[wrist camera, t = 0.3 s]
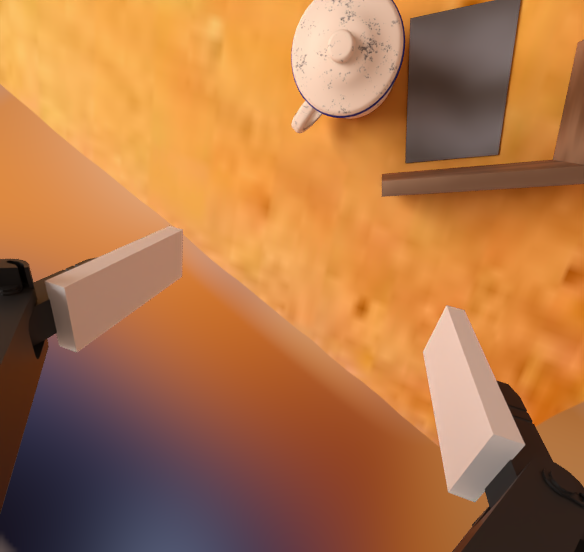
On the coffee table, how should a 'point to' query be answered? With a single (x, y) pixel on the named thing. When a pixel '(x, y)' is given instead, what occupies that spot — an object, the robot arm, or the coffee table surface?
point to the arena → (476, 105)
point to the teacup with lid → (346, 58)
